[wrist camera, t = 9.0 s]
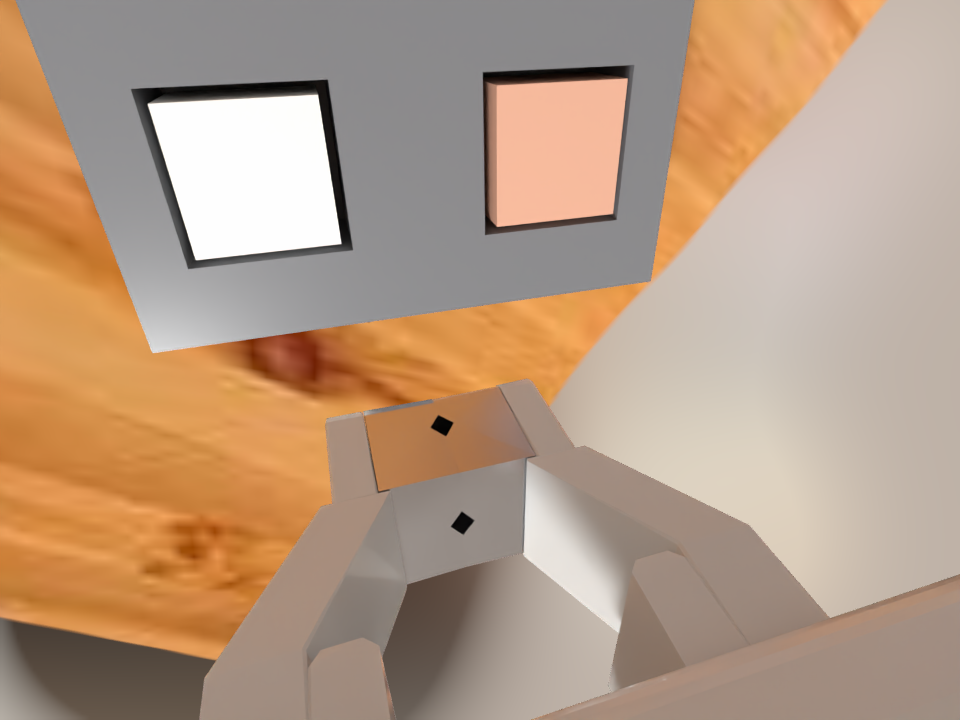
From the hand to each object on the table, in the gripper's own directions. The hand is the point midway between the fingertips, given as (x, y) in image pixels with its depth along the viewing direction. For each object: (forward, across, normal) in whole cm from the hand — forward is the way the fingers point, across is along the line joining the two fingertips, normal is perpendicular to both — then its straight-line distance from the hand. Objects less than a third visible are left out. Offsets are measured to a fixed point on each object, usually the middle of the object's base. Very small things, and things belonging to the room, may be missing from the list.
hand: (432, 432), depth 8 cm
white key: (+17, +3, 0) cm, 17 cm away
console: (+19, -2, 0) cm, 19 cm away
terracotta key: (+17, -8, 0) cm, 19 cm away
